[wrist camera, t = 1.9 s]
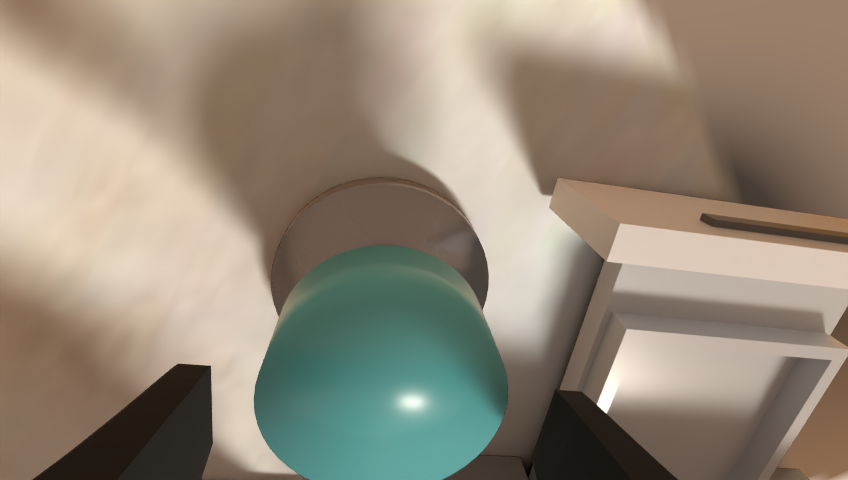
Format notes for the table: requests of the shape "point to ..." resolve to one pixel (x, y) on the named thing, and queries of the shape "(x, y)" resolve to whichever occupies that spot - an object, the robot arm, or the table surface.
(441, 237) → the spindle stand
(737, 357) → the drawer
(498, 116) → the table surface
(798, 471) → the player cabinet
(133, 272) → the table surface
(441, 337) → the teal rounded disc
